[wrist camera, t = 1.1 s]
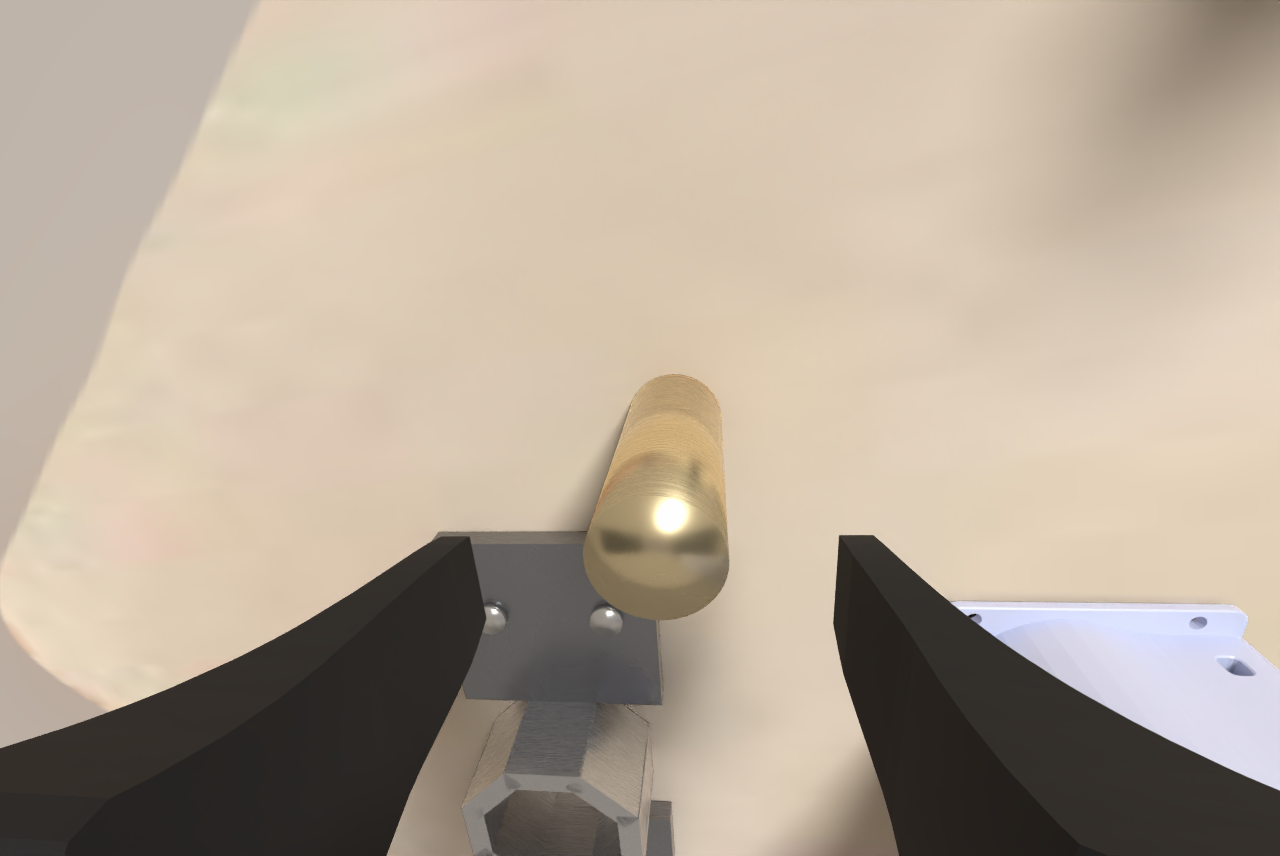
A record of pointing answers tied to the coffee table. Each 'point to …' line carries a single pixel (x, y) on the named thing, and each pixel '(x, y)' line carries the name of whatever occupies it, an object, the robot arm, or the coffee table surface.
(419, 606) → the robot arm
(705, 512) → the hinge pin
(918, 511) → the coffee table surface
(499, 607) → the hinge
